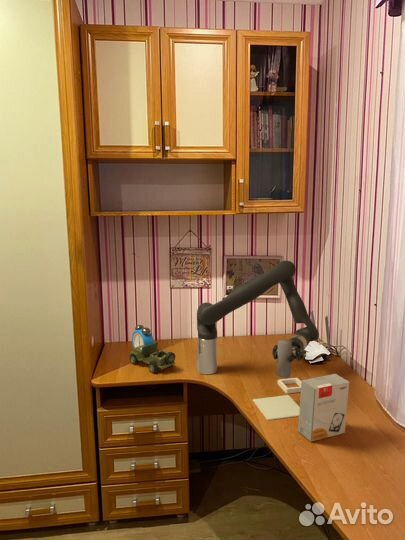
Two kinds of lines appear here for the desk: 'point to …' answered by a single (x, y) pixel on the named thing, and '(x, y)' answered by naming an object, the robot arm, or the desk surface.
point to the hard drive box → (323, 407)
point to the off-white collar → (289, 381)
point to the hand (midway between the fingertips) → (282, 358)
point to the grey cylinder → (284, 358)
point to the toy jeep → (152, 357)
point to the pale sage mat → (277, 407)
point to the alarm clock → (142, 336)
